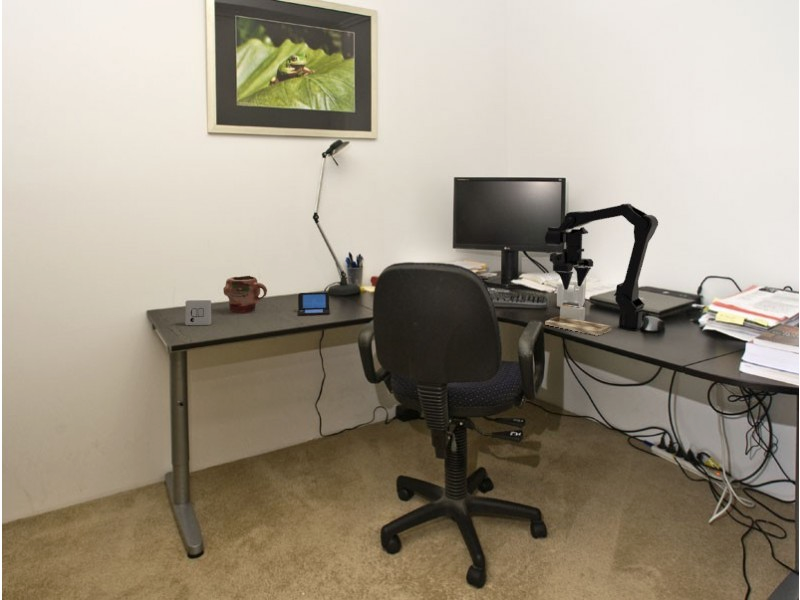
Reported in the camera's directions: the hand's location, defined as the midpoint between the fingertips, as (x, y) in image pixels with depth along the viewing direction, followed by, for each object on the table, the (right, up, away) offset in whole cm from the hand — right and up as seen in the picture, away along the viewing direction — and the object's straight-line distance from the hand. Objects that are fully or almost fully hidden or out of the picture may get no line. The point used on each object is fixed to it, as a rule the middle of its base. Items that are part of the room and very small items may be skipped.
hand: (572, 287), depth 209 cm
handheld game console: (-99, -10, +17) cm, 101 cm away
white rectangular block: (0, -12, +2) cm, 12 cm away
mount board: (-2, -14, -11) cm, 18 cm away
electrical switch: (-139, -14, 0) cm, 140 cm away
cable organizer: (+7, -7, +25) cm, 27 cm away
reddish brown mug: (-127, -9, +21) cm, 129 cm away
